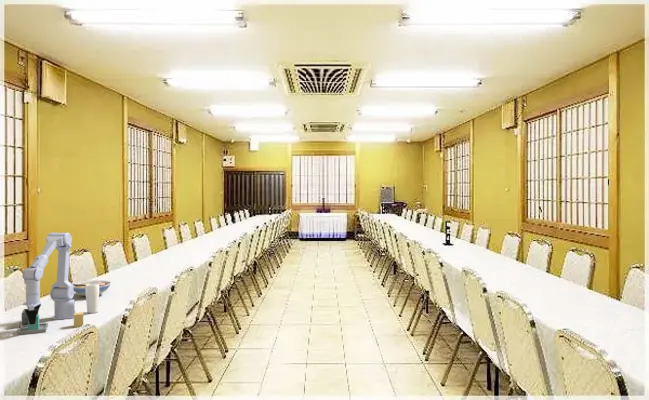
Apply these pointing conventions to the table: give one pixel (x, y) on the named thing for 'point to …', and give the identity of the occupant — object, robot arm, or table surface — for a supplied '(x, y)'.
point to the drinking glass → (92, 297)
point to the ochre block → (78, 319)
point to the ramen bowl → (80, 286)
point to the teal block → (34, 326)
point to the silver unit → (24, 319)
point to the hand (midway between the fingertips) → (33, 322)
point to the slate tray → (25, 330)
